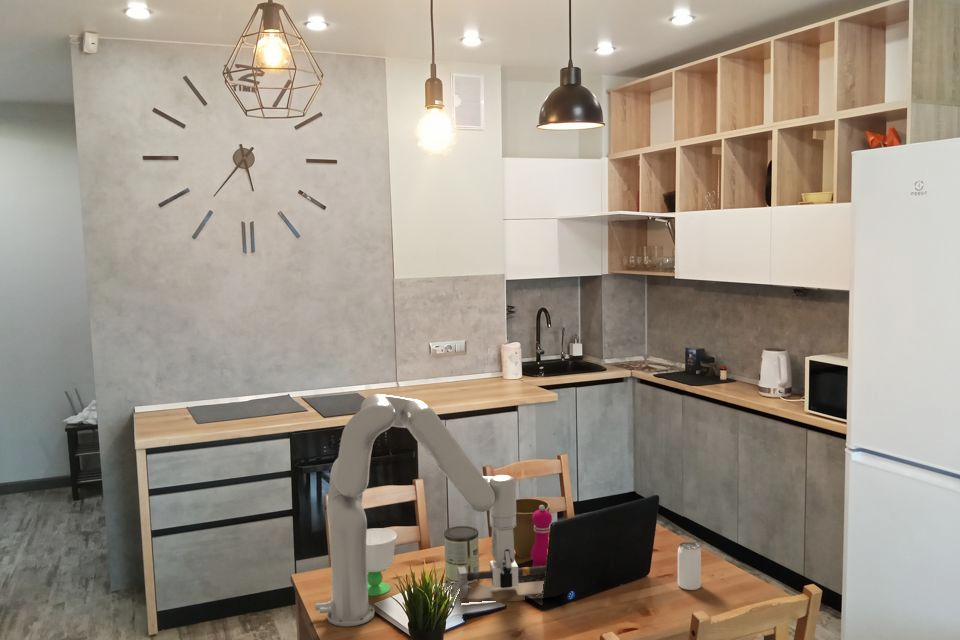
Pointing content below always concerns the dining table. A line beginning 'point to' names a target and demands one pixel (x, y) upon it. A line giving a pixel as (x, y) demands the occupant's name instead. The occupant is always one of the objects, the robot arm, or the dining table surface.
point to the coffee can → (461, 551)
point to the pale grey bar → (498, 593)
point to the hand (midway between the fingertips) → (504, 581)
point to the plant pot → (526, 525)
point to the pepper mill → (540, 536)
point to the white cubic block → (497, 570)
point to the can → (689, 566)
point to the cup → (379, 558)
